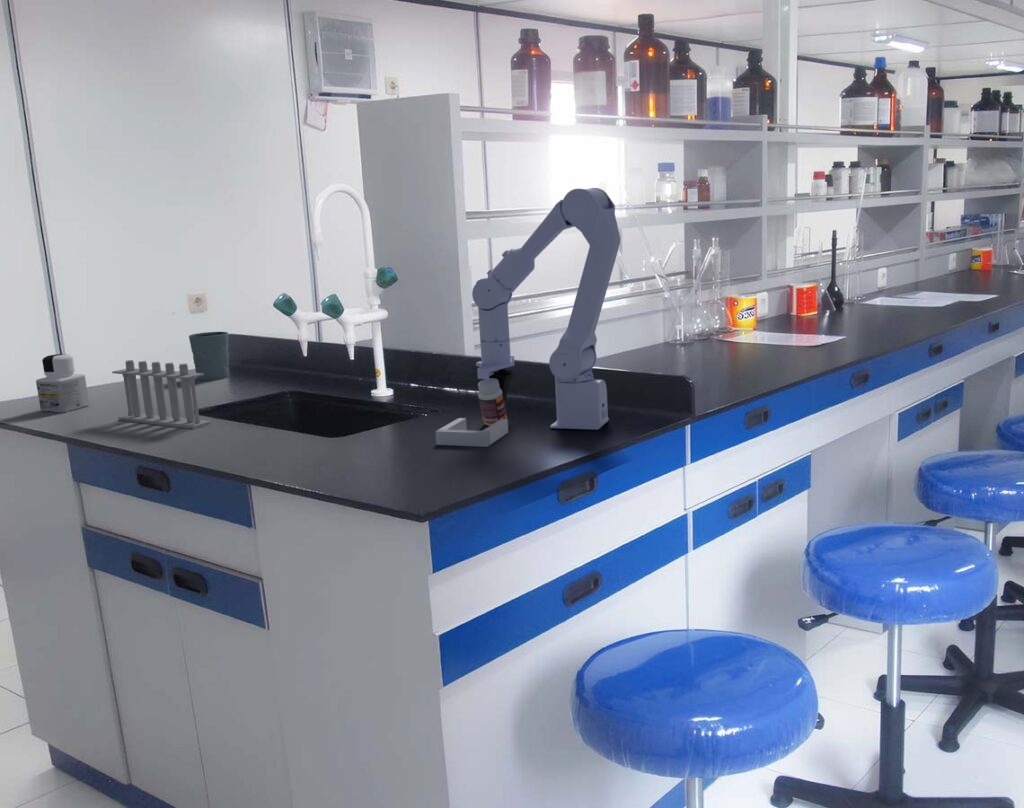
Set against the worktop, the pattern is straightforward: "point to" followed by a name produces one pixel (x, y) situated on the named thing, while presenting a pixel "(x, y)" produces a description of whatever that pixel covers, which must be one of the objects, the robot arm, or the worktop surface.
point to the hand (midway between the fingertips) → (498, 408)
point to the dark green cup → (210, 355)
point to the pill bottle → (491, 401)
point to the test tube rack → (161, 395)
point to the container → (61, 385)
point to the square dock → (470, 434)
